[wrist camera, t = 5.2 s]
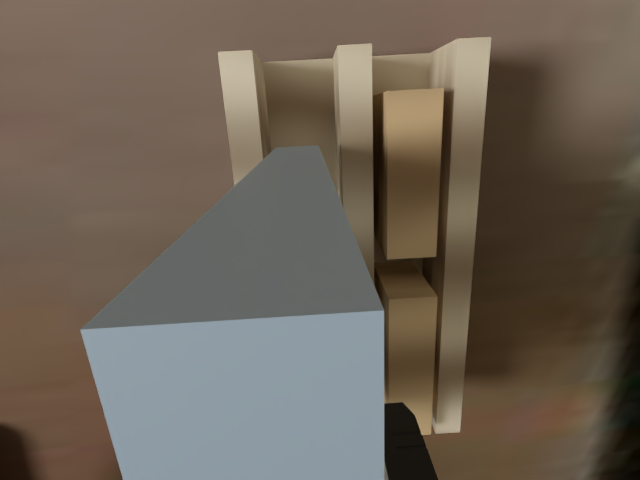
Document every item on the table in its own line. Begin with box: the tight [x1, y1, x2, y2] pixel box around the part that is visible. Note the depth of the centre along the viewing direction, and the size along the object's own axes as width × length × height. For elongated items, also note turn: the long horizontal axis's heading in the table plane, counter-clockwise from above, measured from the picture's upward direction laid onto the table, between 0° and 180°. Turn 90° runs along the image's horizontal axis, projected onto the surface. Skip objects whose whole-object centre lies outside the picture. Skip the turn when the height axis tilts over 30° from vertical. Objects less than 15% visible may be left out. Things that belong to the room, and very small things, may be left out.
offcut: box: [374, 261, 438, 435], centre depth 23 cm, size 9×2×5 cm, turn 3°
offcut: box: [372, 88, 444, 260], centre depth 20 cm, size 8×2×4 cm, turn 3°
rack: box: [218, 37, 491, 434], centre depth 23 cm, size 22×12×6 cm, turn 3°
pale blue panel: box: [81, 145, 384, 480], centre depth 12 cm, size 14×2×16 cm, turn 3°
